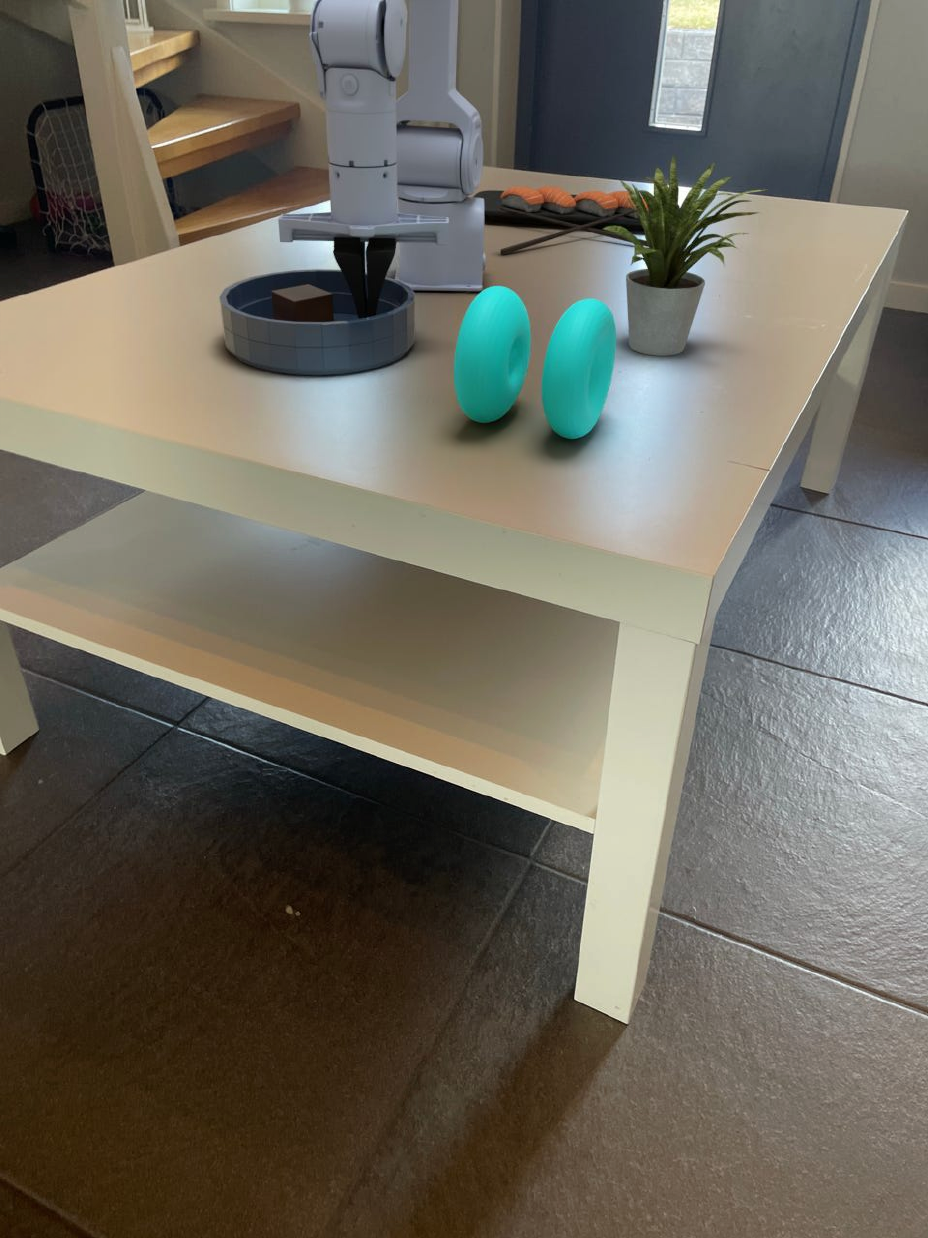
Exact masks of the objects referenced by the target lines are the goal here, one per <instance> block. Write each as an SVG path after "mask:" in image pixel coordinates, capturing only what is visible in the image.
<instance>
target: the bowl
mask: <svg viewBox="0 0 928 1238" xmlns="http://www.w3.org/2000/svg"><path fill="white" fill-rule="evenodd" d="M365 279H366V292H367V301H368V285H367V272H365ZM307 284H309V285H312V286H314V287H317V288H319V289H321V290H324V291H326V292H329V293H331V294H333V312H334V322H292V321H282V320H274V319H273V308H272V296H271V291H274V290H280V289H285V288H291V287H296V286H301V285H307ZM218 299H219V306H220V307H219V308H220V314H221V325H222V331H223V340H224V344H225V347H226V349H227V350H229V352H231V353H232V355H233V356H234V357H235V358H236V359H237V360H239V361H240V362H242V363H244V364H246V365H249V366H251V367H253V368H257V369H260V370H265V371H269V372H273V373H281V374H286V375H287V374H288V375H297V376H298V375H300V376H330V375H331V376H332V375H334V376H335V375H344V374H345V375H346V374H352V373H359V372H364V371H370V370H374V369H377V368H380V367H384V366H386V365H389V364H391V363H393V362H396V361H397V360H400V359H402V357H404V356H405V355H406V354H407V353H408V352H409V350H410V349H411V347H412V346H413V345H414V344H415V338H416V293H415V292H414V290H412V289H411V288H410V287H409V286H408V285H406V284H404V283H402V282H400V281H398V280H395V278H392V277H389V276H386V278H385V280H384V283H383V286H382V290H381V293H380V297H379V301H378V305H377V312H376V316H372V317H368V318H361V319H358V315H357V310H356V307H355V303H354V300H353V297H352V294H351V292H350V289H349V286H348V284H347V282H346V280H345V277H344V275H343V273H342V271H341V269H327V268H326V269H323V268H322V269H321V268H315V269H313V268H312V269H311V268H310V269H295V270H294V269H293V270H285V271H278V272H270V273H265V274H261V275H255V276H251V277H248V278H245V279H241V280H239V281H237V282H234V283H232V284H231V285H229V286H227V287H226V288H224V289H223V290H222V292H221V293H220V295H219V297H218Z"/></svg>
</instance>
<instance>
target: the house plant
mask: <svg viewBox="0 0 928 1238" xmlns="http://www.w3.org/2000/svg"><path fill="white" fill-rule="evenodd" d="M715 164H716V161H714V162H712V163H711V165H709V166H708V167H707V169H706V170H704V172H703V173H702V174H701V176H700V177H699V179H698V180H697V181H696V182H695V184H694V185H693V186H692V187H691V188H690V190H689V191H688V193H687V195H686V197H685V198H684V199H683V202H682V203H681V205H680V206H679V207H680V209H679V211H678V213H677V209H678V205H679V193H680V192H679V191H680V188H679V183H678V176H677V165H676V161H675V157H674V154H672V155H671V161H670V166H669V177H668V178H669V179H668V183H667V181H666V179H665V176H664V173H663V171H662V170H661V169H660V168H659V167H658V166H657V167H656V168H655V171H654V178H652V177H649V176H643V175H642V176H640V177H641V178H645V179H647V180H650V181H652V182H653V193H651V192H649V191H648V190H645V189H639V188H638V187H636V186H635V185H634V183H631V185H632V187H631V186H630V185H629V184H627V183H625V181H623V180H621V179H619V181H620V183H621V185H622V187H623V188H624V189H625V191H628V193H629V196H630V198H631V200H632V202H633V204H634V205H635V207H636V209H637V210H638V212H639V214H640V216H641V218H640V216H639V214H638V213H637V211H636V210H635V208H634V206H633V204H632V202H631V201H630V199H629V198H628V197H627V196H626V195H625V194H624V193H623V192H622V193H623V194H624V195H625V196H626V198H627V199H628V200H629V202H630V204H631V206H632V208H633V209H634V211H635V212H636V214H637V216H638V218H639V219H640V221H641V224H642V226H643V229H644V230H643V231H644V238H645V240H646V241H647V244H648V246H649V247H646V246H643V245H642V244H641V242H640V241H639V240H638V239H639V238H638V237H637V236H636V235H635V234H633V233H632V232H631V231H629V229H625V228H623V227H621V226H608V227H606V228H602V231H606V232H611V233H615V234H619V235H621V236H623V237H625V238H626V239H628V240H630V241H631V242H632V243H631V242H630V243H631V244H632V245H633V248H634V250H633V251H634V254H633V255H632V256H631V263H630V266H632V265H634V263H636V262H637V263H638V262H639V261H644V263H645V266H646V268H641V269H636V270H633V271H630V272H628V273H627V274H626V275H625V284H626V306H627V307H626V308H627V324H628V325H627V326H628V343H629V344H628V347H629V348H630V349H631V350H632V351H635V352H637V353H640V354H643V355H648V356H658V357H664V356H665V357H668V356H675V355H679V354H681V353H683V351H685V347H686V344H687V341H688V338H689V335H690V332H691V329H692V326H693V323H694V319H695V316H696V313H697V310H698V307H699V304H700V301H701V297H702V295H703V292H704V288H705V285H706V282H705V281H706V280H705V279H704V278H703V277H701V276H699V275H698V274H695V273H692V272H690V271H689V270H691V268H693V266H694V265H695V264H697V263H698V262H699V261H700V260H701V259H702V258H704V256H706V255H707V254H708V253H710V254H711V255H713V256H715V257H716V258H718V259H719V260H720V261H721V263H722V264H723V267H724V269H725V267H726V266H725V256H724V254H723V253H722V252H721V251H720V249H722V248H734V249H737V250H738V251H739V252H741V251H740V249H739V248H738V247H736V246H735V243H734V242H733V240H732V239H730V238H731V237H734V236H739V235H749V234H750V233H749V232H734V233H730V234H728V235H727V234H726V235H725V236H722V235H721V234H717V233H707V234H703V233H704V232H705V230H706V229H707V228H708V227H709V226H710V225H714V224H716V223H719V222H722V221H726V220H729V219H732V218H736V217H744V216H751V215H757V214H761V212H758V211H756V212H755V211H753V212H751V211H750V212H749V211H738V212H737V211H736V212H725V213H723V212H724V211H726V210H727V209H728V208H730V207H732V206H734V205H736V204H740V203H749V202H751V200H748V199H747V200H746V199H739V200H735V201H734V199H736V198H739V197H741V196H744V195H746V194H752V193H757V192H763V191H770V190H771V189H770V188H767V189H766V188H765V189H753V190H748V191H743V192H740V193H737V194H732V193H729V192H720V193H718V191H719V190H720V188H721V187H722V186H723V185H724V184H725V183H726V182H727V181H729V179H730V178H731V177H732V175H731V176H726V177H723V178H720V179H719V180H717V181H715V182H714V183H712V184H711V185H710V186H708V187H707V188H706V189H705V191H704V192H703V190H704V188H705V185H706V183H707V180H708V179H709V177H710V176H711V174H712V172H713V170H714V166H715ZM702 192H703V193H702ZM722 195H724V196H729V197H727V198H726V199H724V200H722V201H720V202H719V203H717V204H716V205H715V206H713V207H712V208H711V209H710V210H709V211H707V212H706V213H705V211H706V210H707V209H708V207H709V206H710V205H711V203H712V202H714V200H715V198H716V196H722ZM642 197H643V199H644V200H645V202H646V204H647V207H648V209H649V213H650V216H651V220H652V224H651V220H650V217H649V214H648V211H647V208H646V206H645V204H644V202H643V200H642ZM732 200H733V201H732ZM730 201H732V202H730ZM726 203H727V204H726ZM723 205H724V206H723ZM721 206H723V207H721ZM720 207H721V208H720ZM719 208H720V209H719ZM717 209H719V210H717ZM716 210H717V211H716ZM714 211H716V212H715V213H714V214H713V212H714ZM704 213H705V214H704ZM703 214H704V215H703ZM710 214H713V215H710ZM702 215H703V216H702ZM701 216H702V217H701ZM700 218H701V219H700ZM696 233H698V234H697V235H696ZM702 234H703V235H702ZM695 235H696V236H695ZM701 235H702V236H701ZM694 236H695V238H694ZM693 238H694V239H693ZM715 238H719V239H718V240H717V241H713V242H710V243H708V244H705V245H703V246H701V247H699V248H697V247H698V246H699V245H701V244H702V243H703V242H705V241H708V240H710V239H715ZM692 239H693V240H692ZM726 241H728V242H726ZM696 248H697V249H696ZM694 249H695V250H694ZM639 255H641V256H642V257H641V256H639Z"/></svg>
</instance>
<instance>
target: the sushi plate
mask: <svg viewBox="0 0 928 1238" xmlns="http://www.w3.org/2000/svg"><path fill="white" fill-rule="evenodd" d="M622 192H623V193H624V194H625V195H626V196H627V197H628V198H629V199H630V201H631V202H632V200H631V198H630V196H629V193H628V191H627V190H615V191H611V192H609V193H606V192H604V191H600V190H588V191H584V192H581V193H579V194H570V193H569V192H568V191H565V190H564V189H561V188H558V187H556V186H540V187H538V188H536V189H533V188H531V187H528V186H513V187H510V188H507V189H505V190H497V189H495V190H494V189H490V190H481V191H478V192H477V193H475V194H474V195H473V196H472V197H473V198H483V199H484V216H485V215H486V216H488V217H489V219H490V220H493V221H496V222H505V223H506V222H507V223H518V224H522V223H523V224H536V225H550V226H551V225H553V226H565V227H568V229H565V230H561V231H558V232H555V233H551V234H548V235H544V236H541V237H537V238H534V239H529V240H527V241H524V242H520V243H517V244H513V245H510V246H507V247H504V248H503V247H502V248H501V249H500V255H508V254H511V253H514V252H517V251H520V250H524V249H526V248H529V247H533V246H536V245H538V244H542V243H544V242H549V241H551V240H554V239H556V238H559V237H563V236H566V235H568V234H572V233H575V232H578V231H583V232H584V231H585V232H588V233H591V234H597V235H600V236H604V237H607V238H612V239H615V240H619V241H623V242H627V243H631V244H633V243H632V242H631V241H630V240H628V239H626V238H625V237H623V236H621V235H619V234H616V233H614V232H611V231H607V230H603V228H606V227H608V226H621V227H623V228H625V229H627V230H628V231H629V230H631V231H644V229H643V226H642V224H641V221H640V219H639V218H638V216H637V214H636V212H635V211H634V209H633V208H632V206H631V204H630V202H629V200H628V199H627V198H626V196H625V195H624V194H623V193H622ZM641 197H642V196H641ZM642 200H643V202H644V204H645V206H646V208H647V211H648V214H649V217H650V220H651V216H650V213H649V209H648V207H647V204H646V202H645V200H644V199H643V197H642ZM632 204H633V202H632ZM633 206H634V208H635V210H636V211H637V213H638V214H639V212H638V210H637V209H636V207H635V205H634V204H633ZM680 207H681V206H680V205H679V204H678V209H677V213H678V211H679V209H680ZM639 216H640V214H639ZM640 218H641V216H640ZM651 224H652V220H651ZM569 227H570V228H569ZM637 239H638V240H639V241H640V242H641V244H642V245H643V247H645V248H649V246H648V244H647V241H646V239H641V238H637Z"/></svg>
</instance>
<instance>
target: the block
mask: <svg viewBox="0 0 928 1238" xmlns="http://www.w3.org/2000/svg"><path fill="white" fill-rule="evenodd" d="M271 296H272V308H273V319H274V320H282V321H292V322H334V312H333V294H331V293H329V292H326V291H324V290H321V289H319V288H317V287H314V286H312V285H309V284H307V285H301V286H296V287H291V288H285V289H280V290H274V291H271Z"/></svg>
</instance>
